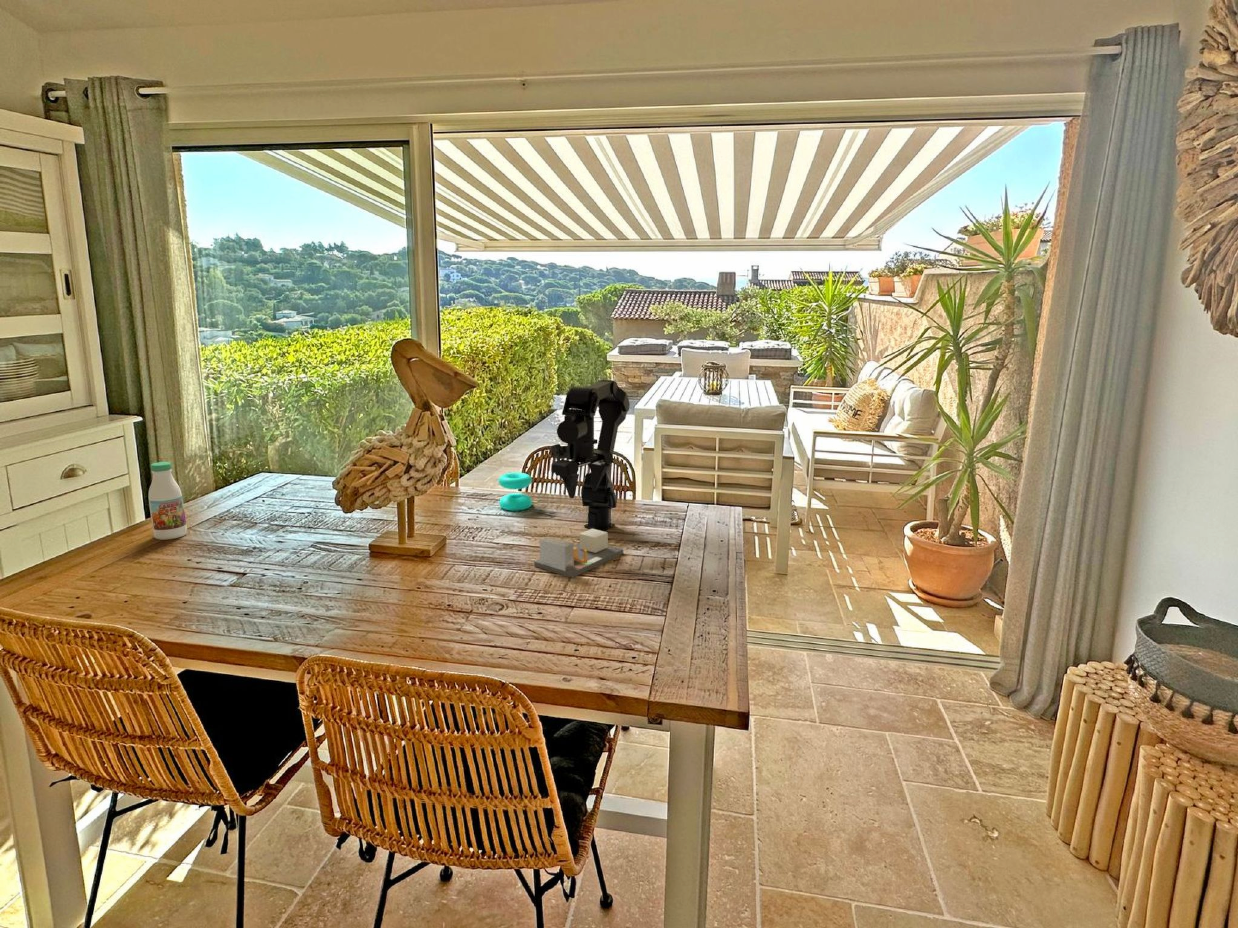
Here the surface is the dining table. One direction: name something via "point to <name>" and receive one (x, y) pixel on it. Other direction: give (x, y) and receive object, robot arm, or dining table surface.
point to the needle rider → (579, 558)
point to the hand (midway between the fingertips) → (583, 494)
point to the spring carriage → (593, 540)
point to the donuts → (515, 500)
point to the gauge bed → (590, 555)
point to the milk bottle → (166, 504)
